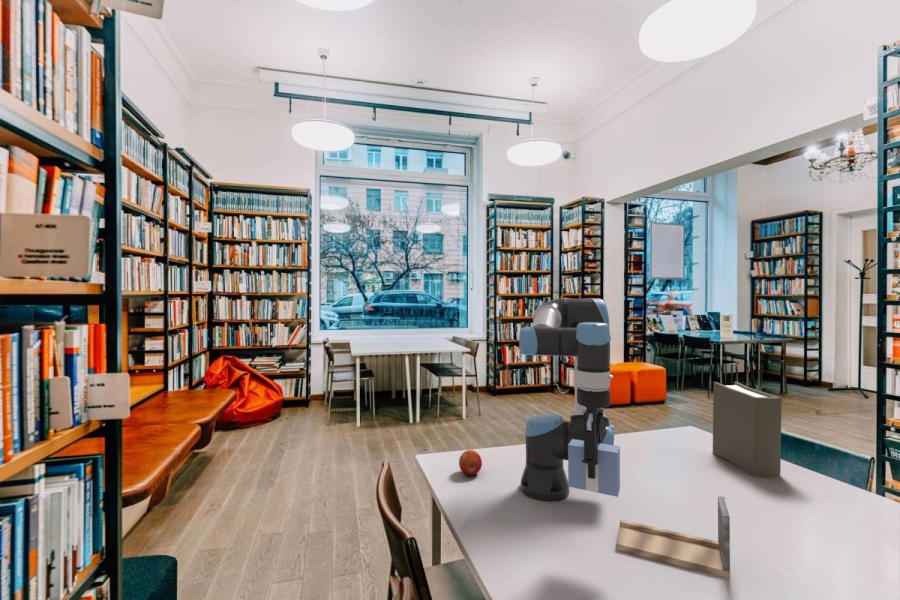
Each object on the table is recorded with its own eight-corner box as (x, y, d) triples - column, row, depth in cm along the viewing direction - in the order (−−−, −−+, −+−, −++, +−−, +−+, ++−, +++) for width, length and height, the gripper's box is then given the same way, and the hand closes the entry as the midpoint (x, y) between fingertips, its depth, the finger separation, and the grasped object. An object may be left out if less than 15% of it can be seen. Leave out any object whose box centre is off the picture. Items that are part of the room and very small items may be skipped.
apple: (483, 470, 147) (482, 447, 146) (480, 480, 138) (480, 456, 138) (460, 468, 148) (460, 446, 148) (457, 478, 140) (457, 455, 140)
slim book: (568, 486, 98) (568, 444, 98) (572, 479, 102) (572, 438, 102) (617, 496, 93) (617, 452, 93) (620, 488, 97) (619, 446, 97)
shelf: (616, 549, 100) (615, 494, 100) (620, 528, 109) (619, 478, 109) (730, 578, 89) (729, 516, 89) (724, 553, 98) (723, 496, 98)
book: (782, 478, 139) (783, 396, 138) (755, 479, 139) (756, 396, 138) (736, 452, 161) (737, 381, 160) (712, 453, 160) (713, 382, 159)
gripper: (605, 397, 88) (605, 506, 88) (614, 382, 103) (615, 474, 104) (569, 394, 91) (570, 498, 92) (583, 379, 107) (584, 469, 107)
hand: (594, 485), depth 98 cm, fingers closed on slim book, 4 cm apart
